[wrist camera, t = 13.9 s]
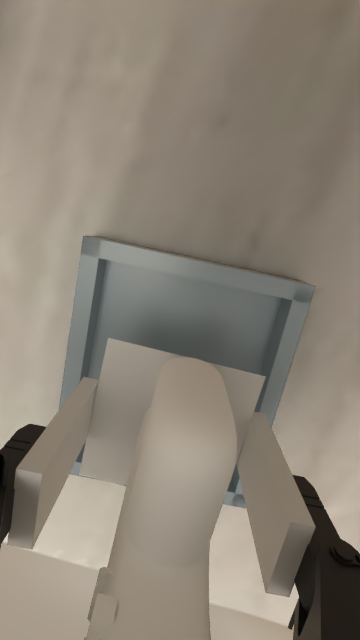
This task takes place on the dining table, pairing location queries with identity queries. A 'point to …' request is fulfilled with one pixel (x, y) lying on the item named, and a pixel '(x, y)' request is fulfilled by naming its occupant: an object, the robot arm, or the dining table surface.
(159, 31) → the dining table surface
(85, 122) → the dining table surface
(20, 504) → the robot arm
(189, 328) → the tray
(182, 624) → the figurine
